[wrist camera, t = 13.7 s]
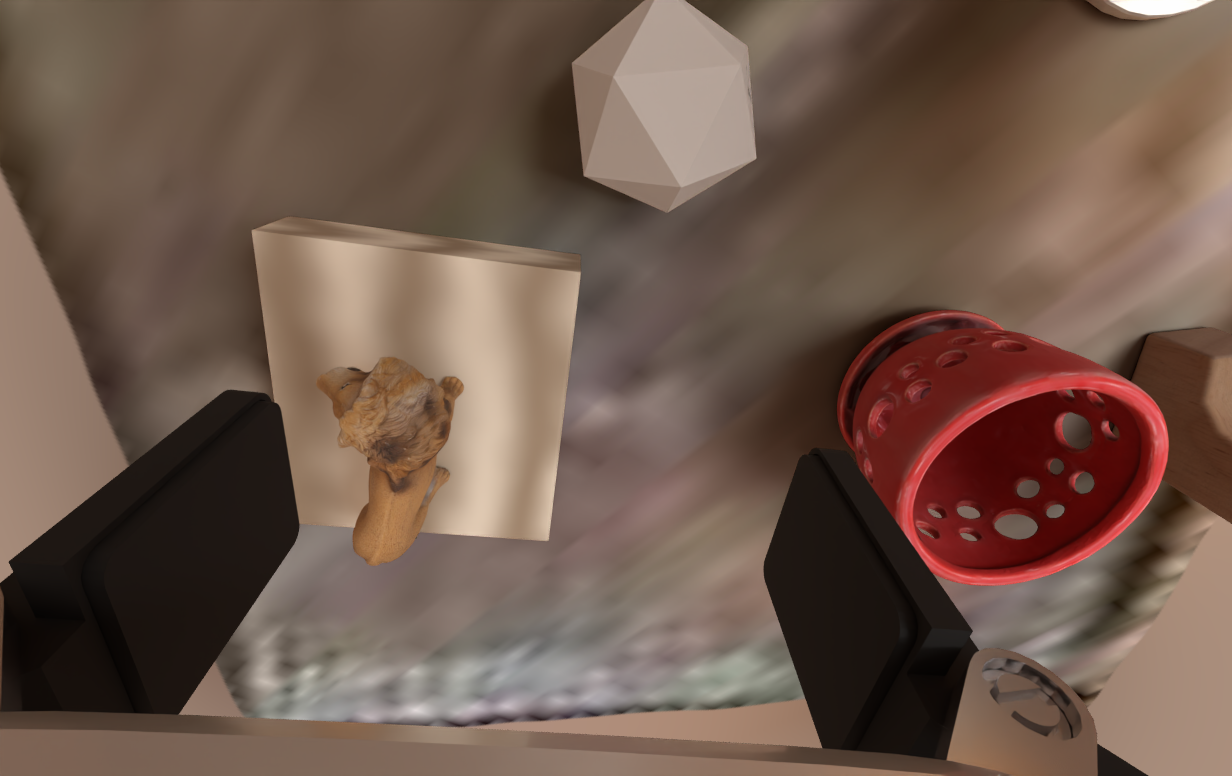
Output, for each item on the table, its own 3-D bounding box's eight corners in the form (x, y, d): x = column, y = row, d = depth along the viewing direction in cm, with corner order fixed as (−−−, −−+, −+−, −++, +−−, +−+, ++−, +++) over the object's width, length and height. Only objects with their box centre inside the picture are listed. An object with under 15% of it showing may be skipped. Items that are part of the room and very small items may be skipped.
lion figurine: (366, 307, 29) (286, 382, 21) (470, 319, 30) (432, 397, 22) (376, 528, 35) (317, 651, 27) (462, 534, 36) (429, 656, 28)
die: (678, 224, 33) (817, 177, 25) (546, 222, 28) (665, 163, 20) (665, 79, 32) (804, -19, 24) (527, 51, 27) (642, -81, 19)
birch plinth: (580, 254, 33) (580, 272, 29) (550, 502, 40) (548, 541, 37) (289, 216, 31) (251, 230, 27) (317, 484, 38) (290, 523, 35)
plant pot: (922, 251, 34) (1082, 316, 23) (1042, 367, 38) (1225, 468, 27) (772, 406, 38) (848, 522, 27) (895, 495, 42) (1003, 627, 31)
